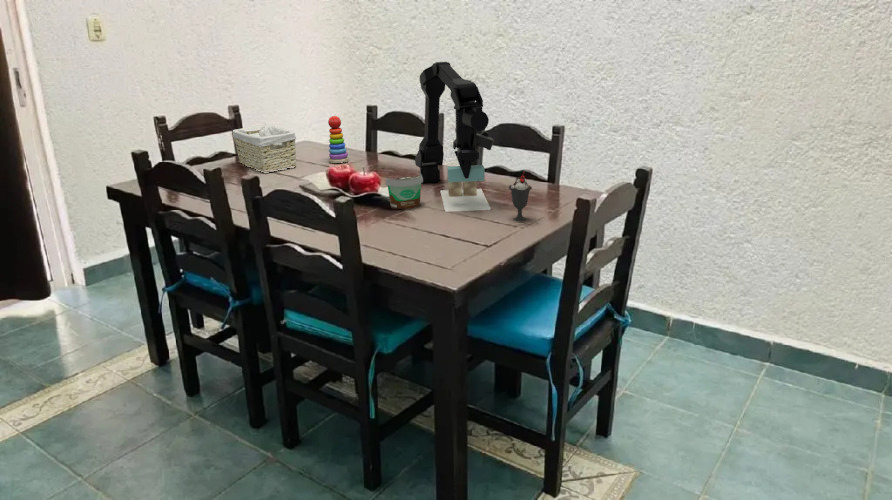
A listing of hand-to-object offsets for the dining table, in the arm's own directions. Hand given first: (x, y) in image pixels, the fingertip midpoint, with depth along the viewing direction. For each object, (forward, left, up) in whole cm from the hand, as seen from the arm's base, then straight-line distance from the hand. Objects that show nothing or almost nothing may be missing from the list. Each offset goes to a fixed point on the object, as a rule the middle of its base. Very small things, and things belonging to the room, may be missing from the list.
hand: (465, 176), depth 202 cm
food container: (-18, 0, -10) cm, 20 cm away
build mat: (0, +6, -9) cm, 11 cm away
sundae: (+14, -17, -10) cm, 24 cm away
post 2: (+2, +12, -9) cm, 15 cm away
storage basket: (-73, +65, -10) cm, 98 cm away
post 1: (-3, +12, -9) cm, 15 cm away
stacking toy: (-45, +68, -10) cm, 82 cm away
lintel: (0, 0, -1) cm, 1 cm away
